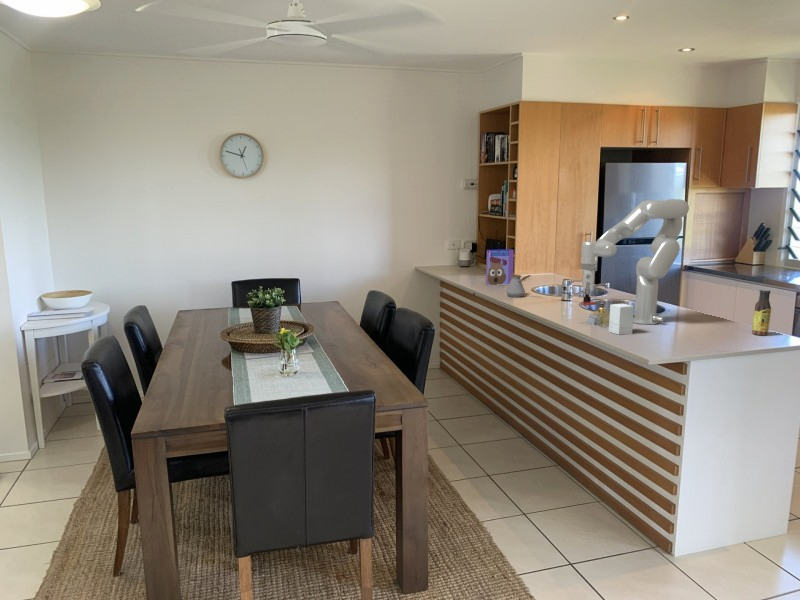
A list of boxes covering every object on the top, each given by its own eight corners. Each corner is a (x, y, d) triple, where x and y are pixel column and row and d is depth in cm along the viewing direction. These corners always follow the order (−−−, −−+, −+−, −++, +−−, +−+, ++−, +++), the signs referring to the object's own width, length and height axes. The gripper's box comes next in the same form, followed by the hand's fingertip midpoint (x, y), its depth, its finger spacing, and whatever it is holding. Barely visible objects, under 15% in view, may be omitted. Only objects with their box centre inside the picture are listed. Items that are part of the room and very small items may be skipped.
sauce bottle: (761, 336, 261) (766, 291, 257) (748, 333, 266) (752, 289, 263) (771, 335, 263) (776, 290, 260) (758, 332, 269) (762, 288, 265)
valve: (623, 321, 291) (624, 306, 290) (601, 327, 279) (602, 311, 278) (601, 318, 300) (601, 303, 299) (579, 323, 288) (579, 308, 287)
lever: (602, 306, 290) (603, 300, 290) (606, 307, 287) (607, 301, 287) (579, 307, 286) (580, 301, 286) (583, 309, 283) (584, 303, 283)
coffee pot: (502, 295, 366) (502, 271, 364) (518, 294, 370) (519, 270, 368) (521, 301, 347) (521, 275, 344) (538, 300, 351) (538, 274, 348)
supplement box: (632, 333, 267) (634, 306, 265) (618, 335, 265) (620, 307, 263) (622, 330, 274) (623, 303, 272) (608, 331, 272) (609, 304, 270)
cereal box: (488, 285, 404) (489, 250, 400) (486, 284, 408) (486, 249, 404) (512, 284, 408) (513, 249, 404) (509, 283, 412) (510, 248, 408)
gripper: (597, 269, 278) (595, 308, 281) (596, 265, 292) (594, 302, 295) (580, 268, 280) (578, 307, 283) (580, 265, 294) (578, 301, 297)
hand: (586, 304), depth 289 cm, fingers closed
